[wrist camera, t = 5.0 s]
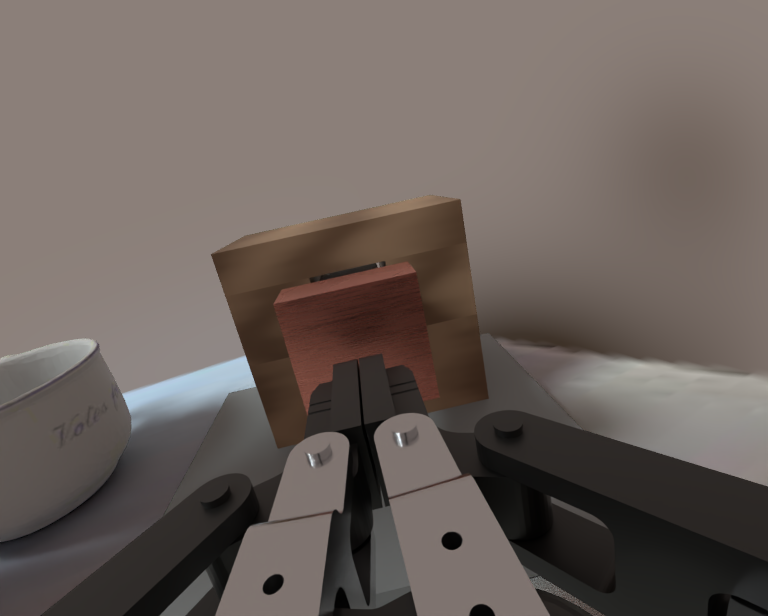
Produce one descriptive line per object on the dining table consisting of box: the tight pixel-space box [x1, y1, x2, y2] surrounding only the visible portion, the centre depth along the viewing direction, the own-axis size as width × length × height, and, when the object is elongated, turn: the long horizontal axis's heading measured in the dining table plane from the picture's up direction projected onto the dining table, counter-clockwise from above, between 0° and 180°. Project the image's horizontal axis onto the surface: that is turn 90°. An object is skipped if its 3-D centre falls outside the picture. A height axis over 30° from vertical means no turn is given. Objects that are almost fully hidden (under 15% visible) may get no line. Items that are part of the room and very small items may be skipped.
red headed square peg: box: [273, 261, 440, 416], centre depth 19 cm, size 5×9×5 cm, turn 6°
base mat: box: [159, 333, 607, 616], centre depth 22 cm, size 20×18×1 cm
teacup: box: [0, 339, 131, 542], centre depth 24 cm, size 14×11×8 cm
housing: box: [211, 195, 489, 449], centre depth 24 cm, size 12×7×12 cm, turn 96°
